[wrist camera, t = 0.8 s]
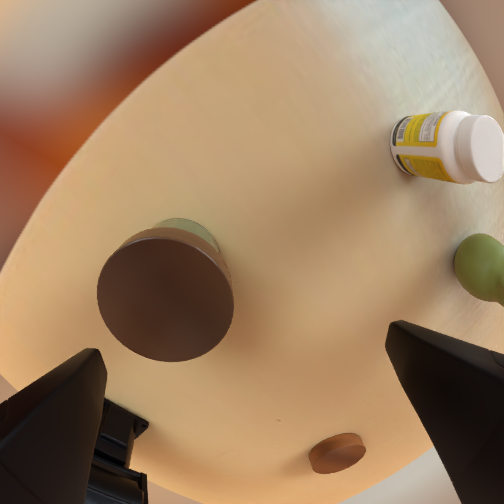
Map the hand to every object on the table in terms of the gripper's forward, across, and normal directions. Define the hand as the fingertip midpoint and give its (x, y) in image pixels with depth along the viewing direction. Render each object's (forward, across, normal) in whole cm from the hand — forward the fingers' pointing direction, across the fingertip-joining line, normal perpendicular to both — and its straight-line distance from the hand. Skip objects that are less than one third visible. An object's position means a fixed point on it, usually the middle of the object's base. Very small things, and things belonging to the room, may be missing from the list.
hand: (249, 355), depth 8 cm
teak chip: (+13, -11, +28) cm, 33 cm away
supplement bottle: (+13, -14, -7) cm, 21 cm away
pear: (+13, -22, +3) cm, 26 cm away
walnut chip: (+8, +4, +1) cm, 9 cm away
